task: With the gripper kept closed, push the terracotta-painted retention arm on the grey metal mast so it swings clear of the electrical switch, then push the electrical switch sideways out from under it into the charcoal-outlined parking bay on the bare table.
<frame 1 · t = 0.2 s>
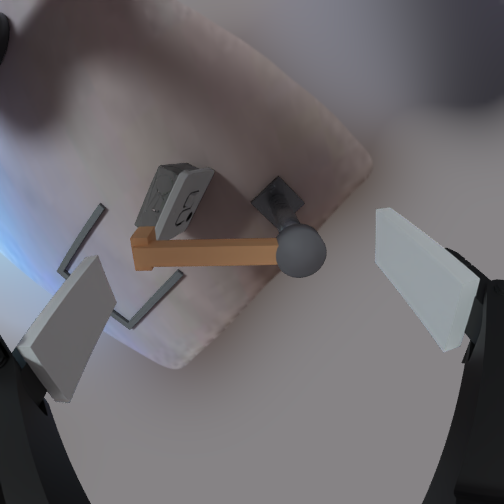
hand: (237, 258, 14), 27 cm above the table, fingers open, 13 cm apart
retention arm: (227, 247, 28), point 15 cm above the table, hinge at 0.0°
mast: (277, 201, 41), on the table
bay: (116, 269, 44), on the table
electrical switch: (181, 192, 40), on the table
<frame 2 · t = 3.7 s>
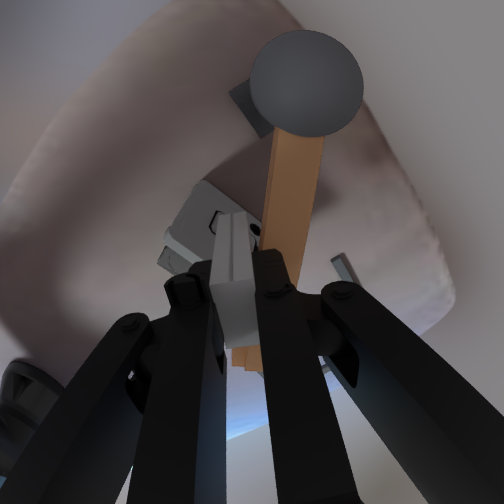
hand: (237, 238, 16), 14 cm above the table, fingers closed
retention arm: (281, 221, 14), point 15 cm above the table, hinge at 5.1°, touching gripper
mast: (268, 100, 25), on the table
bay: (304, 332, 36), on the table
electrical switch: (225, 227, 30), on the table
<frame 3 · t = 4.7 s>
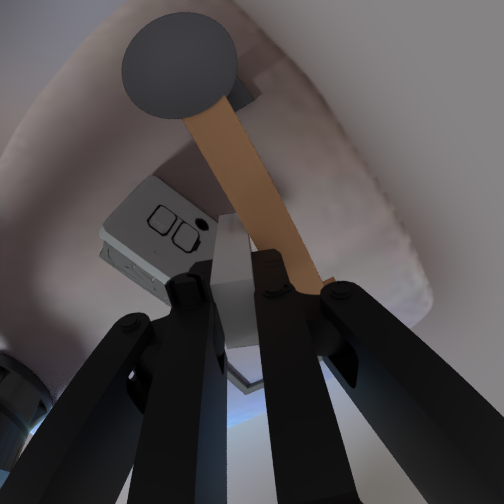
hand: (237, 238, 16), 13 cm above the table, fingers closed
retention arm: (255, 192, 14), point 15 cm above the table, hinge at 39.8°, touching gripper
mast: (214, 93, 24), on the table
bay: (264, 332, 35), on the table
electrical switch: (176, 222, 30), on the table
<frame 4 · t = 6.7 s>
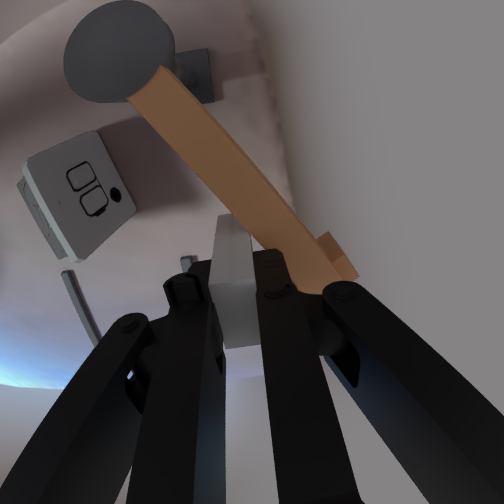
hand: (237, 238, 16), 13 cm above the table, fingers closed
retention arm: (218, 154, 13), point 15 cm above the table, hinge at 78.2°, touching gripper
mast: (182, 80, 23), on the table
bay: (138, 316, 34), on the table
electrical switch: (98, 183, 27), on the table
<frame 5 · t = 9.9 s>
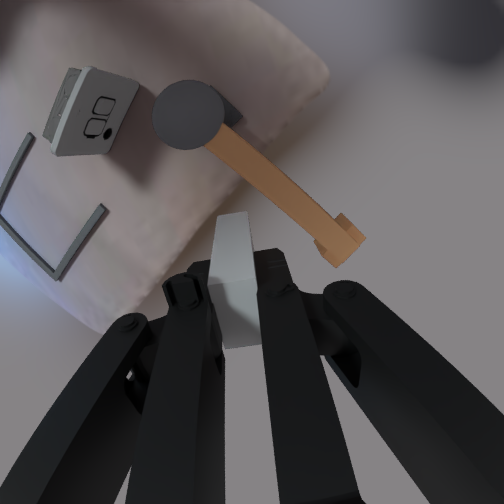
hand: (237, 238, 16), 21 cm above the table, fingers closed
retention arm: (264, 173, 20), point 15 cm above the table, hinge at 140.6°
mast: (210, 116, 32), on the table
bay: (41, 207, 35), on the table
electrical switch: (106, 112, 31), on the table
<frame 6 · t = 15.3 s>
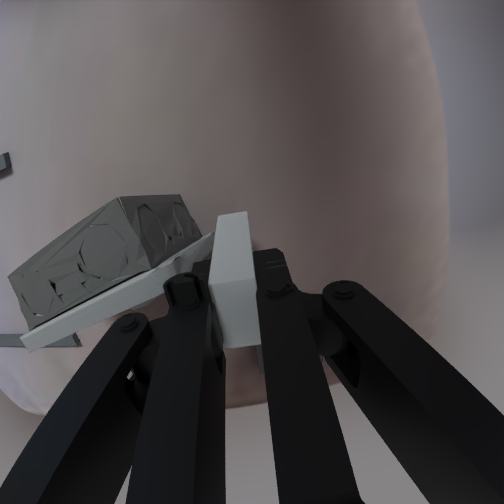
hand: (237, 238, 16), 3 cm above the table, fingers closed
electrical switch: (135, 237, 19), on the table, touching gripper
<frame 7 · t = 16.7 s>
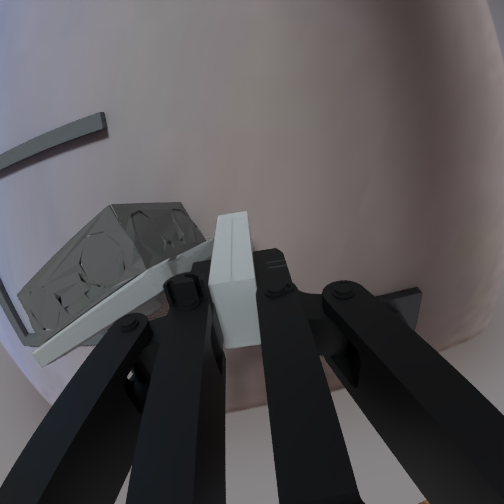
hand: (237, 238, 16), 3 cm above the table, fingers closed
retention arm: (442, 500, 12), point 15 cm above the table, hinge at 140.6°
mast: (387, 318, 23), on the table
bay: (50, 253, 19), on the table
electrical switch: (142, 249, 19), on the table, touching gripper
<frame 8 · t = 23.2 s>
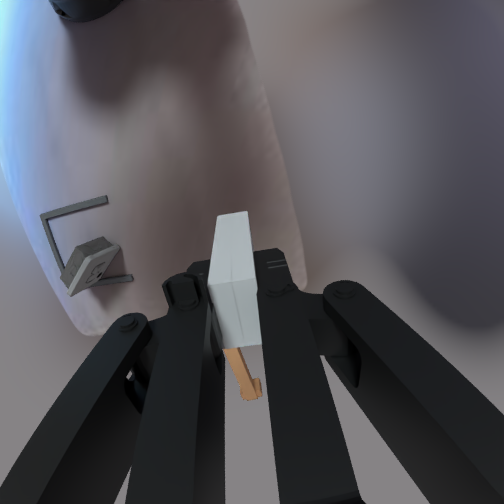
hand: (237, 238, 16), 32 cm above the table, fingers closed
retention arm: (237, 359, 43), point 15 cm above the table, hinge at 140.6°
bay: (87, 245, 50), on the table
electrical switch: (98, 255, 51), on the table
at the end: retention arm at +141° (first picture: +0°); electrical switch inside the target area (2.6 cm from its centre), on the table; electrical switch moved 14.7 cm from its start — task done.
